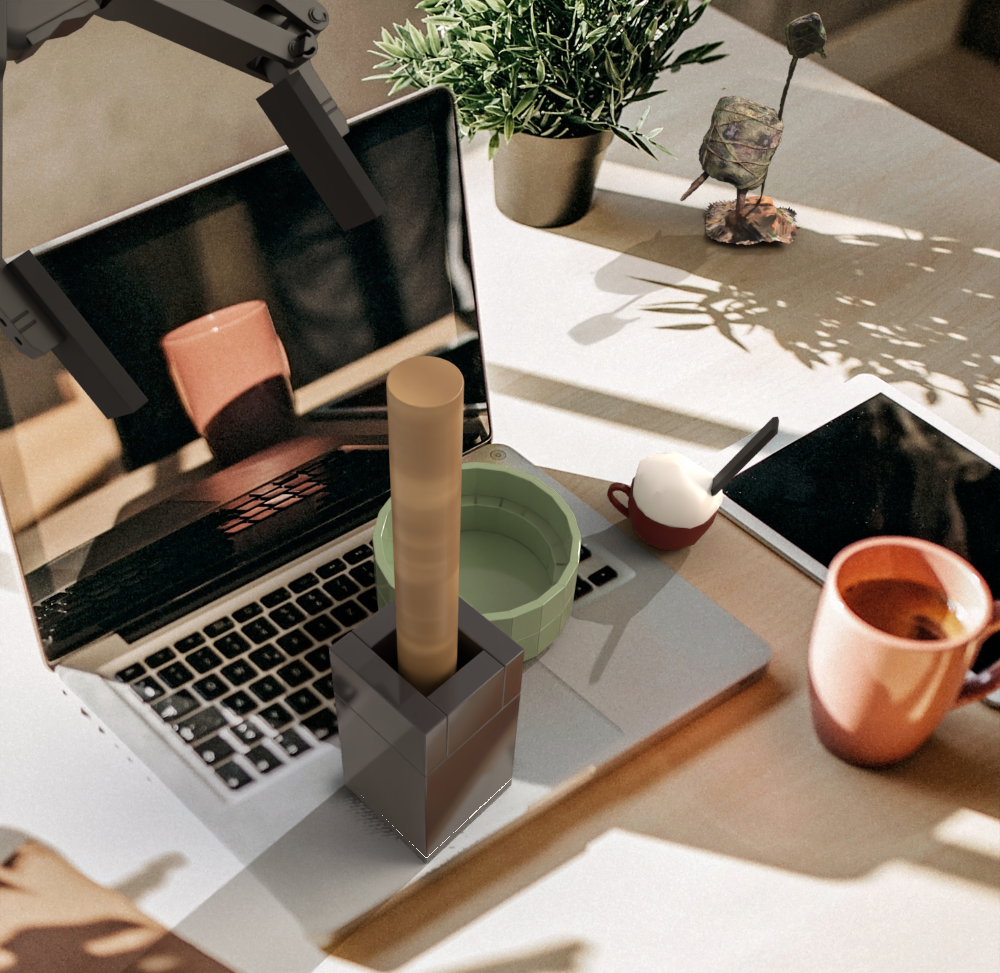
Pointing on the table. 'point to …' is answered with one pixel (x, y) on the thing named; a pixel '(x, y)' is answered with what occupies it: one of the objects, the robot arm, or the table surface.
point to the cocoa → (680, 494)
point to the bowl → (505, 554)
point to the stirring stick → (426, 515)
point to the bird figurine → (752, 153)
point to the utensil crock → (427, 728)
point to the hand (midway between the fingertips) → (256, 309)
